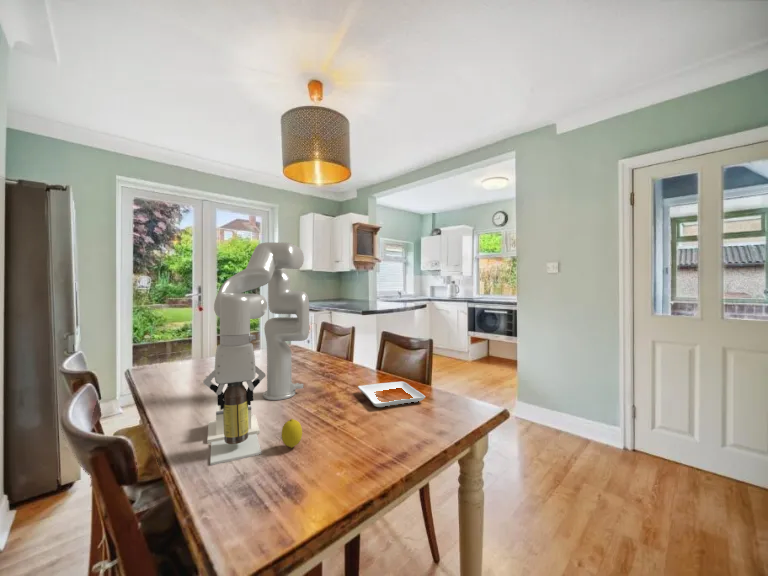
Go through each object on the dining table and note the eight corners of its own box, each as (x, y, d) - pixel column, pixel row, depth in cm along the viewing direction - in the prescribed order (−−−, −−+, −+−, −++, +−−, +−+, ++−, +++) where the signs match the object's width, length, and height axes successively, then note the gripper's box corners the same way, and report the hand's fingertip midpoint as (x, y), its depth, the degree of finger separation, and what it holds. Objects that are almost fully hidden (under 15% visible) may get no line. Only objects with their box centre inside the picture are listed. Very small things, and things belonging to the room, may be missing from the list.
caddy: (255, 416, 113) (255, 394, 112) (259, 433, 100) (259, 408, 100) (208, 424, 106) (208, 401, 106) (207, 443, 94) (207, 416, 94)
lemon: (294, 441, 95) (294, 413, 95) (306, 447, 92) (306, 418, 92) (277, 448, 91) (277, 419, 91) (289, 454, 88) (289, 425, 88)
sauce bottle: (247, 432, 95) (247, 363, 95) (249, 442, 90) (250, 369, 89) (222, 437, 92) (222, 366, 92) (223, 447, 86) (224, 371, 86)
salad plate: (426, 404, 125) (427, 395, 125) (374, 412, 118) (374, 403, 118) (403, 388, 145) (403, 380, 145) (356, 394, 137) (357, 385, 137)
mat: (256, 435, 99) (256, 433, 99) (261, 454, 88) (261, 452, 88) (211, 444, 93) (211, 442, 93) (210, 465, 83) (210, 462, 83)
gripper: (266, 336, 98) (266, 396, 98) (199, 340, 90) (200, 406, 90) (270, 340, 91) (270, 405, 91) (198, 345, 83) (198, 416, 83)
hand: (235, 405), depth 91 cm, fingers closed on sauce bottle, 6 cm apart
